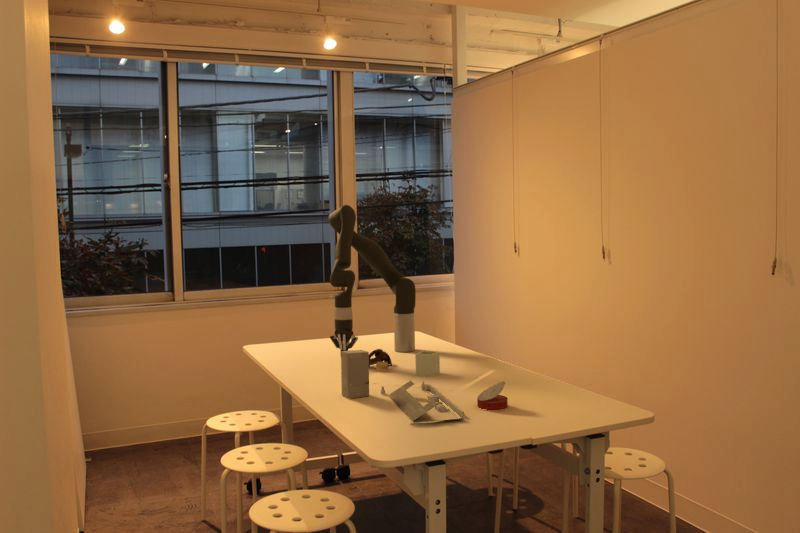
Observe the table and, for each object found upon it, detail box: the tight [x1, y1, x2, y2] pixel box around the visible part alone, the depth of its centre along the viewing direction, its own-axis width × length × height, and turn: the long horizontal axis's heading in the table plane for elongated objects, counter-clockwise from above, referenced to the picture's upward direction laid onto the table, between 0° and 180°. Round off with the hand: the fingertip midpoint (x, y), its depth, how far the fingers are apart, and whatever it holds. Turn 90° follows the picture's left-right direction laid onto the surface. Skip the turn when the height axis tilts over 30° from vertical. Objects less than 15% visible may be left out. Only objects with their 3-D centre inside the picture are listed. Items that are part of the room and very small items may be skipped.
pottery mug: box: [369, 348, 393, 368], centre depth 323 cm, size 12×10×8 cm
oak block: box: [375, 361, 389, 373], centre depth 310 cm, size 4×4×4 cm
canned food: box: [476, 381, 509, 411], centre depth 255 cm, size 11×10×10 cm
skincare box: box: [340, 349, 370, 399], centre depth 273 cm, size 8×7×16 cm
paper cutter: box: [380, 380, 466, 424], centre depth 257 cm, size 18×45×6 cm, turn 14°
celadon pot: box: [414, 350, 441, 377], centre depth 302 cm, size 7×7×9 cm
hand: (344, 358), depth 330 cm, fingers closed
